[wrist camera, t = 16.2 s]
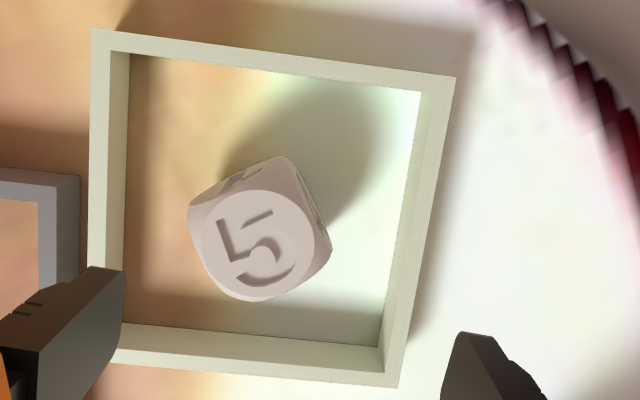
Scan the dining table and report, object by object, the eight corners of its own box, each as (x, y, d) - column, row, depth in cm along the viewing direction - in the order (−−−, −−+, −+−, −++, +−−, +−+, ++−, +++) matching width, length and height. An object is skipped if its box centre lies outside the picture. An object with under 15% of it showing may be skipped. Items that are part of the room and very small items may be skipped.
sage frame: (440, 76, 24) (456, 77, 22) (389, 361, 28) (397, 388, 25) (113, 32, 23) (91, 27, 21) (105, 334, 27) (85, 360, 24)
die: (287, 147, 25) (284, 165, 20) (330, 233, 26) (337, 270, 21) (198, 190, 25) (174, 218, 20) (245, 273, 26) (232, 318, 21)
